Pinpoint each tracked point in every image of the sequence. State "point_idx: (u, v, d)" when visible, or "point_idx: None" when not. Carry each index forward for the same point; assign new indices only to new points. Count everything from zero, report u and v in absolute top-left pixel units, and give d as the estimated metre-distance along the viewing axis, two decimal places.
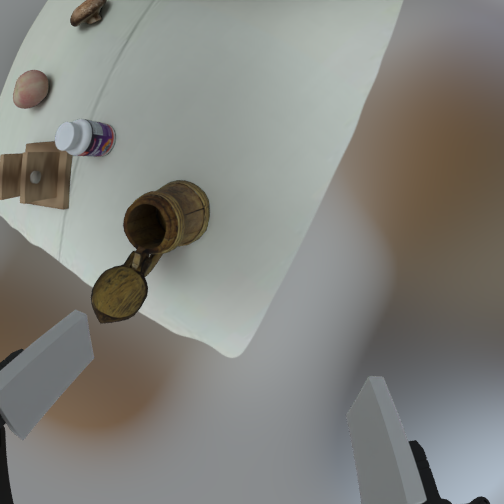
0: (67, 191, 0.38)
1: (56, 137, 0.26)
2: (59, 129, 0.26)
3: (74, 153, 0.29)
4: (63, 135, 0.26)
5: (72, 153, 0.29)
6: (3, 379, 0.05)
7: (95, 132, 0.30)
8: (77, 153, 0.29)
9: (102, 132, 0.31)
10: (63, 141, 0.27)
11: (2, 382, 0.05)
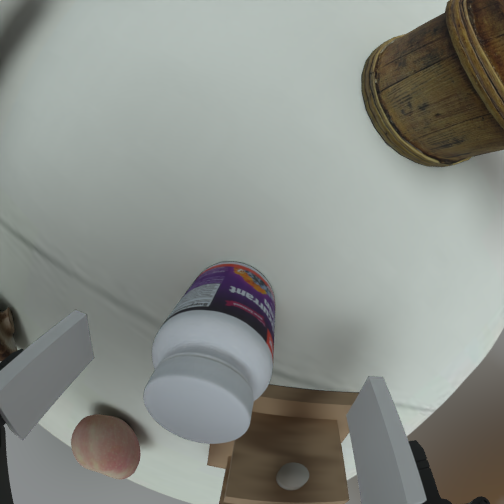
0: (332, 395, 0.19)
1: (196, 438, 0.09)
2: (169, 425, 0.08)
3: (265, 378, 0.10)
4: (190, 415, 0.08)
5: (263, 385, 0.10)
6: (3, 379, 0.05)
7: (206, 301, 0.11)
8: (268, 367, 0.10)
9: (209, 285, 0.13)
10: (215, 419, 0.08)
11: (2, 382, 0.05)
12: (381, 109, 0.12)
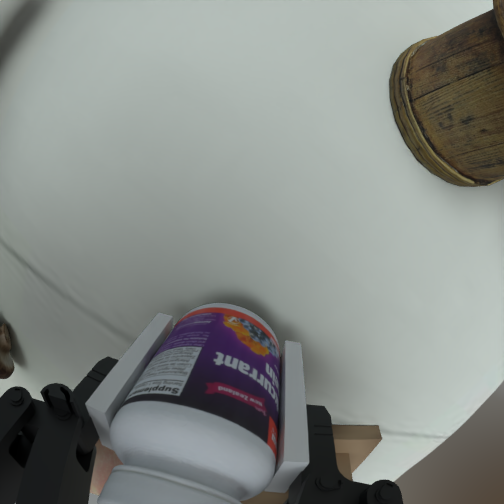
0: (345, 429, 0.16)
1: None
2: None
3: (265, 484, 0.06)
4: None
5: (262, 488, 0.06)
6: (108, 392, 0.07)
7: (177, 384, 0.07)
8: (268, 473, 0.06)
9: (185, 349, 0.08)
10: None
11: (109, 395, 0.07)
12: (414, 121, 0.10)
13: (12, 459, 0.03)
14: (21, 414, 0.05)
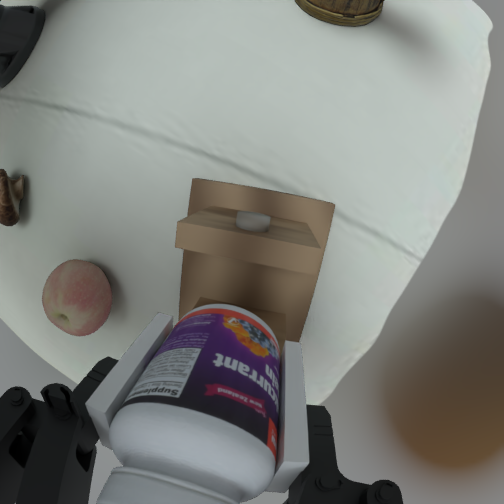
0: None
1: None
2: None
3: (264, 485, 0.06)
4: None
5: (261, 490, 0.06)
6: (109, 392, 0.07)
7: (176, 385, 0.07)
8: (268, 475, 0.06)
9: (185, 350, 0.08)
10: None
11: (109, 395, 0.07)
12: None
13: (12, 459, 0.03)
14: (21, 414, 0.05)
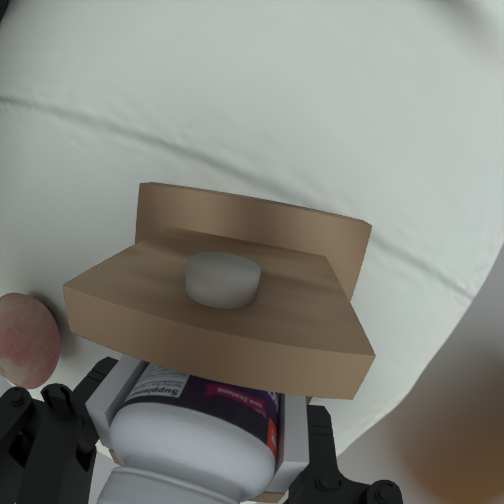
0: (311, 209, 0.14)
1: None
2: None
3: (264, 485, 0.06)
4: None
5: (262, 490, 0.06)
6: (109, 392, 0.07)
7: (177, 385, 0.07)
8: (268, 475, 0.06)
9: None
10: None
11: (109, 395, 0.07)
12: None
13: (12, 459, 0.03)
14: (21, 414, 0.05)
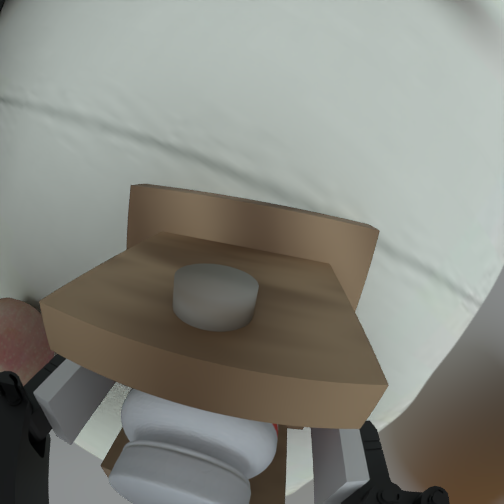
0: (314, 213, 0.13)
1: None
2: None
3: (267, 460, 0.06)
4: None
5: (264, 466, 0.07)
6: (55, 383, 0.06)
7: None
8: (270, 449, 0.06)
9: None
10: None
11: (55, 386, 0.06)
12: None
13: None
14: None
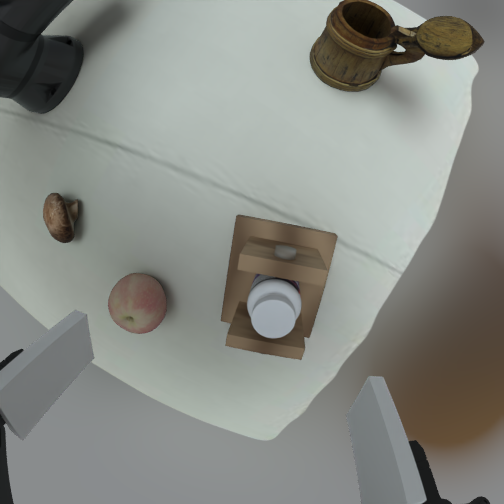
0: (311, 229, 0.32)
1: (271, 335, 0.24)
2: (260, 329, 0.24)
3: (299, 308, 0.26)
4: (271, 319, 0.23)
5: (298, 312, 0.26)
6: (3, 379, 0.05)
7: None
8: (300, 303, 0.26)
9: None
10: (281, 320, 0.23)
11: (2, 382, 0.05)
12: (316, 65, 0.26)
13: None
14: None
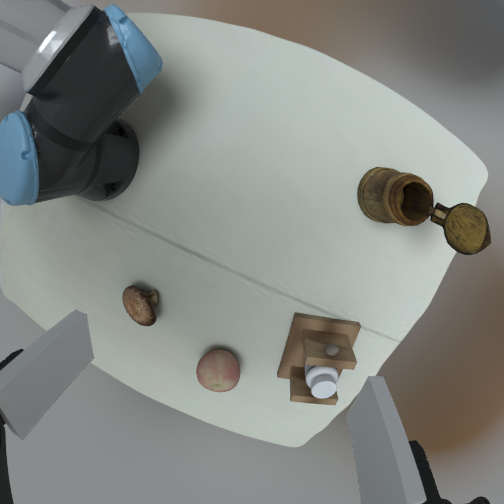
0: (344, 321, 0.44)
1: (321, 397, 0.37)
2: (315, 394, 0.37)
3: (337, 379, 0.38)
4: (323, 390, 0.36)
5: (336, 381, 0.38)
6: (3, 379, 0.05)
7: None
8: (337, 376, 0.38)
9: None
10: (328, 390, 0.36)
11: (2, 382, 0.05)
12: (363, 204, 0.38)
13: None
14: None
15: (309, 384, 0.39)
